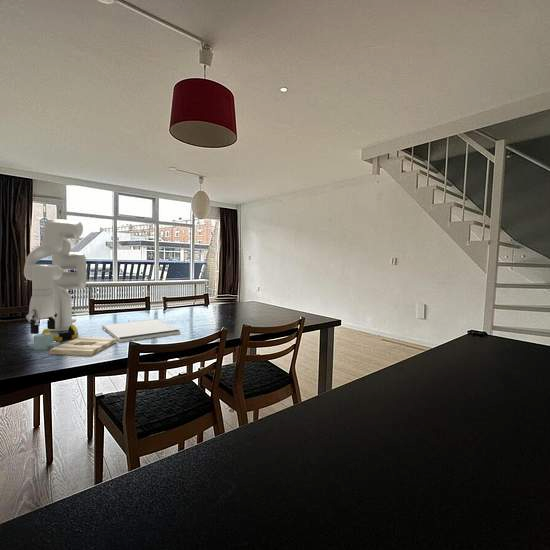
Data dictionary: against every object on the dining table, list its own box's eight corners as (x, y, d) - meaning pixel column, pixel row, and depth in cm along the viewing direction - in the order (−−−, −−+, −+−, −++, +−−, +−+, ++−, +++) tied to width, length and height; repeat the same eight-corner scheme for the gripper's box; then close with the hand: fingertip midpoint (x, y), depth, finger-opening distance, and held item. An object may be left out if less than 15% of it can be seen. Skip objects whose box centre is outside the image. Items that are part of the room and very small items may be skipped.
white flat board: (180, 330, 175) (119, 338, 155) (180, 334, 175) (119, 343, 155) (156, 319, 201) (102, 324, 181) (156, 322, 202) (102, 329, 181)
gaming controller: (40, 340, 154) (49, 344, 149) (40, 329, 154) (49, 332, 148) (74, 334, 167) (83, 337, 161) (73, 324, 166) (83, 327, 161)
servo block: (34, 346, 144) (33, 331, 144) (60, 347, 144) (60, 332, 143) (27, 349, 140) (26, 333, 140) (53, 350, 140) (53, 334, 139)
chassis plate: (80, 340, 155) (80, 336, 155) (116, 342, 154) (116, 338, 154) (50, 353, 135) (49, 349, 135) (91, 355, 134) (91, 351, 134)
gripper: (49, 290, 149) (49, 327, 150) (18, 294, 132) (18, 335, 132) (64, 291, 149) (64, 327, 149) (36, 295, 131) (36, 336, 132)
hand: (43, 331), depth 141 cm, fingers open, 9 cm apart
